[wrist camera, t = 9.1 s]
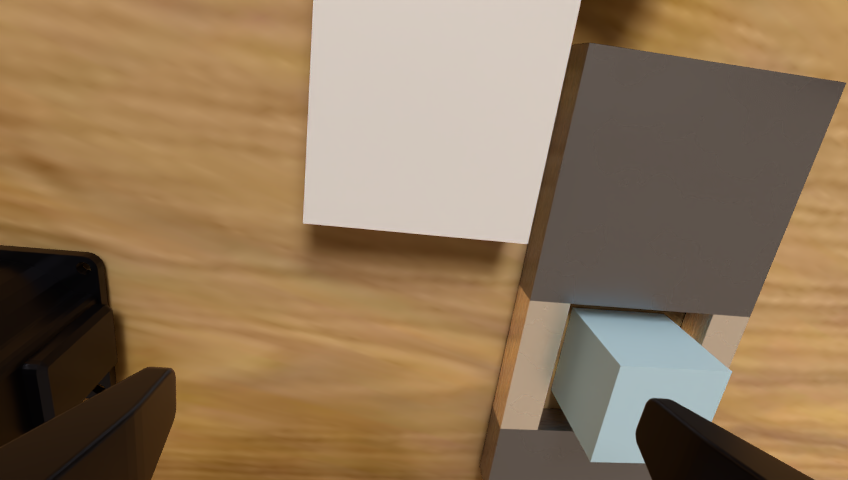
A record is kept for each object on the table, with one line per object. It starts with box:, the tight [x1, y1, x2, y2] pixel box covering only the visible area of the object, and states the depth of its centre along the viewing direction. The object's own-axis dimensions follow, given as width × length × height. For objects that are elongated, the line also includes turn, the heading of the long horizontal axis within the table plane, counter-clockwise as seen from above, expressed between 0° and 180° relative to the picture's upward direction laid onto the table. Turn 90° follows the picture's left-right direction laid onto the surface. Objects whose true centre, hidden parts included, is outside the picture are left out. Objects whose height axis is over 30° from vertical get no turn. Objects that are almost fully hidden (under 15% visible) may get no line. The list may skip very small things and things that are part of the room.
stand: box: [303, 0, 581, 244], centre depth 16 cm, size 8×10×2 cm
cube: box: [551, 308, 732, 463], centre depth 20 cm, size 4×4×4 cm
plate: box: [480, 43, 846, 480], centre depth 20 cm, size 10×20×2 cm, turn 173°
